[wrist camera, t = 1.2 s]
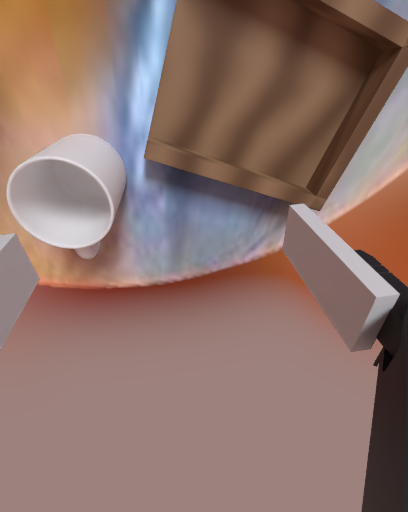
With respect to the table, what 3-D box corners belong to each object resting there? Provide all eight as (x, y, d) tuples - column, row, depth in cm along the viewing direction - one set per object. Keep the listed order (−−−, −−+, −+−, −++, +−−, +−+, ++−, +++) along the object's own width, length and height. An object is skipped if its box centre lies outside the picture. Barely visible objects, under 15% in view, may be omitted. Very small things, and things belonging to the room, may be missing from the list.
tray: (145, 149, 30) (143, 158, 27) (194, -82, 21) (198, -107, 18) (307, 200, 36) (319, 211, 33) (399, 37, 27) (427, 33, 24)
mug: (133, 230, 36) (124, 279, 27) (68, 231, 35) (37, 282, 26) (123, 133, 29) (106, 157, 20) (41, 130, 28) (-12, 155, 19)
